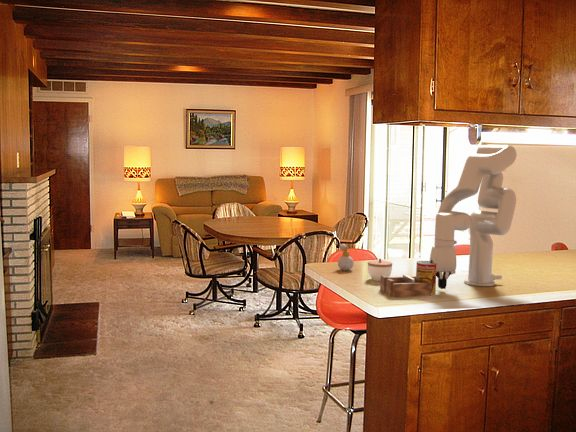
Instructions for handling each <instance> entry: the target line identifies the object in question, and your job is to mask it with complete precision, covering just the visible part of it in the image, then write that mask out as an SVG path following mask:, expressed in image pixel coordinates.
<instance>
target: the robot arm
mask: <svg viewBox="0 0 576 432" xmlns="http://www.w3.org/2000/svg"><path fill="white" fill-rule="evenodd" d="M517 155H518V154H517V150H516V148H515V147H514V146H513V145H509V144H486V145H485V144H484V145H481V146H479V147H478V148H477V150H476V153H475V154H471V155H469V156H468V157H467V158H466V160H465V163H464V166H463V169H462V172H461V175H460V178H459V180H458V184H457V186H456V187H455V188H454V189H453V190H451V191H449V193H448V194H447V195H446V196H445V197H444V198H443V200H441V203H440V206H439V208H438V211H437V214H436V215H435V224H434V225H435V226H434V227H435V228H434V245H433V246H432V247H431V250H430V256H429V261H430V262H432V263H433V264H436V279H437V286H438V288H439V289H441V290H443V289H444V290H446V289H447V283H448V281H447V280H448V279H449V277H450V276H451V275H454V274H455V275H456V271H457V270H456V269H457V252H456V251H457V250H456V248H455V245H457V243H458V241H457V240H455V231H459V232H460V231H462V232H463V231H466V230H468V229H469V236H470V239H469V240H470V241H469V256H468V257H469V259H468V260H469V261H468V274H467V275H468V276H467V278H465V279H464V281H463V282H464V283H465V284H466V285H469V286H476V287H493V286H495V284H496V282H495V280H499V281H500V280H502V279H503V276H502V275H501V274H497V275H496V274H494V273H493V272H492V271H493V254H494V253H493V252H494V242H493V239H492V237H491V235H494V236H505V235H507V234H508V233H509V231H510V230H511V226H512V222H513V218H514V214H515V210H516V204H517V196H516V193H515V191H514V190H513V189H512V188H509V187H503V182H504V174H503V171H504V170H506V169H507V168H509V167H511V166H512V165H513V164H514V163H515V161H516V160H517V159H516V158H517ZM476 194H478V196H477V204H478V206H479V207H480V208H483V209H487V210H488V209H489V211H487V210H477V211H473V212H472V213H471V214H469V213H468V212H467V213H466V212H461V211H453V209H454V208H455V206H456V205H457V204H458V203H460V202H462V201H463V200H465V199H468V198H470V197H473V196H475V195H476ZM490 210H497V211H490Z"/></svg>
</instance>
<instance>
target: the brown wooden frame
mask: <svg viewBox="0 0 576 432" xmlns="http://www.w3.org/2000/svg"><path fill="white" fill-rule="evenodd" d="M409 277H411V278H413V279H415V283H402V282H403V276H389V277H387V276H385V275H381V281H380V282H379V283H380V285H379V286H380V287H379V288H380V289H379V290H380V291H381V292H382V293H385V294H386V295H388V297H389V296H390V297H393V298H396V297H397V298H398V297H402V298H403V297H430V296H432V295H433V294H432V283H431V282H427V283H416V275H415V276H413V275H412V276H411V275H410V276H409Z"/></svg>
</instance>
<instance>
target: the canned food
mask: <svg viewBox="0 0 576 432" xmlns="http://www.w3.org/2000/svg"><path fill="white" fill-rule="evenodd" d="M415 272H416V273H415V276H416V283H427V282H431V283H432V295H433V294H435V293H436V288H437V287H436V285H437V276H436V264H433V263H432V262H430V260H417V261H416V268H415Z"/></svg>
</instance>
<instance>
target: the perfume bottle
mask: <svg viewBox="0 0 576 432" xmlns="http://www.w3.org/2000/svg"><path fill="white" fill-rule="evenodd" d="M339 250H341V252H342V256H340V257H339V258H338V260H337V266H338V268H339V269H340V270H341V271H350V270H351V269H352V268H353V267H354V259H353V257H351V256H350V251H349V250H348V246H347V244H345V243H341V244H340V245H339Z"/></svg>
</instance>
